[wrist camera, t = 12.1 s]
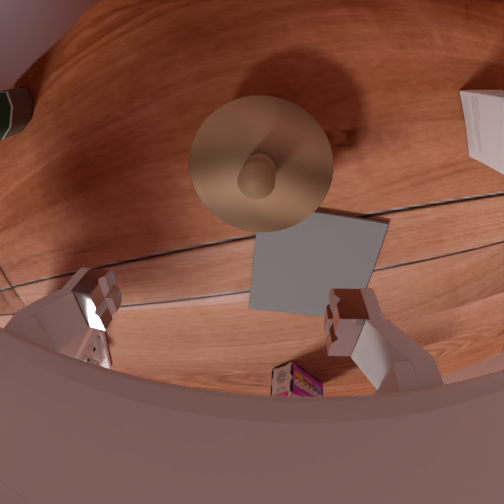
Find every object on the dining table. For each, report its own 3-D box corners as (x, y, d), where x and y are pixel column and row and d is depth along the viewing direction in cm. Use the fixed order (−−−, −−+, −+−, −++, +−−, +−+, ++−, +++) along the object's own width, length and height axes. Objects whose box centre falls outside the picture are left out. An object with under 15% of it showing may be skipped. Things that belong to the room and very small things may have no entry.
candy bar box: (270, 369, 49) (263, 448, 35) (291, 359, 47) (290, 443, 33) (303, 391, 53) (303, 461, 39) (323, 383, 51) (327, 456, 37)
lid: (324, 229, 28) (332, 259, 23) (198, 225, 29) (182, 253, 24) (334, 99, 21) (349, 100, 16) (189, 98, 22) (165, 100, 17)
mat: (352, 315, 40) (353, 318, 40) (249, 305, 41) (248, 308, 40) (386, 222, 32) (388, 224, 31) (259, 203, 32) (259, 205, 32)
